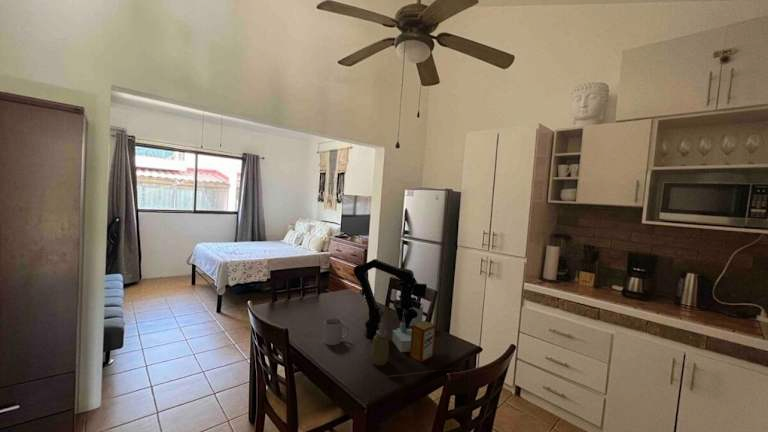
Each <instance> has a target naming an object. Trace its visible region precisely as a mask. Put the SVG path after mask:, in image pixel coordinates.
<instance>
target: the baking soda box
mask: <svg viewBox="0 0 768 432" xmlns="http://www.w3.org/2000/svg"><path fill="white" fill-rule="evenodd" d="M436 327H437V325H436V324H434V323H433V322H429V321H427V320H422V322H419V323H416V324H414V325H412V327H411V329H412V335H411V348H410V351H409V357H410V358H412V359H414V360H416V361H418V362H419V363H422V362H425V361H427V360H428V359H430V358H432V357H434V351H435V349H434V348H435V340H436V339H435V338H436Z"/></svg>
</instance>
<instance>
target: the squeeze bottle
mask: <svg viewBox="0 0 768 432" xmlns="http://www.w3.org/2000/svg"><path fill="white" fill-rule="evenodd" d="M387 333H388V332H387V331H386V330H385V325H384V323H383V322H380V325H379V330H377V331H376V335H375V336H374V338H373V339H372V346H371V351H370V358H371V362H372V364H373V365H375V366H378V367H379V366H385V365H386V364H387V362H388V360H389V356H390V353H389V351H390V350H389V349H390V348H389V347H390V346H389V344H390V343H389V336H388V334H387Z"/></svg>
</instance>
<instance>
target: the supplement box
mask: <svg viewBox="0 0 768 432" xmlns="http://www.w3.org/2000/svg"><path fill="white" fill-rule="evenodd" d="M420 303H421V304H422V305H421V307H420V309H417V308H415V307H413V308H410V309H414V310H415V311H416V312H417V313H418V315H417V317H416V318H413V319H412V321H411V323H410V325H409V327H411V328H412V325H414V324H416V323H419V322H422V321H423V318H424V317H423V315H424V303H422V302H420Z"/></svg>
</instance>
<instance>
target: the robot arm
mask: <svg viewBox="0 0 768 432" xmlns="http://www.w3.org/2000/svg"><path fill="white" fill-rule="evenodd" d="M372 269H376V270H379V271H380V272H384V273H387V274H389V275H392V276H394V277H396V278H397V279H398V280H399V282H398V283H397V286H399V287H400V295H398V298H399V299H394V300H393V304H392V306H393V308H394V310H395V313H396V316H397V318H398V321H399V322H401V321H402V319H403V322H405V327H406V329H409V327H410V326H409V325H410V323H411V321H412V319H413V318H416V317H417V315H418V313H417V312H416V311H415V310H414V309H410V308H413V307H415V308H417V309H420V307H421V305H422V304H423V303H422V302H420V301H419V300H417V297H418V298H422V299H423V298H425V299H426V298H427V295H428V289H427V288H428V287H427V283H419V282H418V281H417V279H416V278H415V275H414V274H415V273H414V272H413V270H411V269H408V268H399V267H396V266H394V265H391V264H388V263H386V262H383V261H381V260H379V259H377V258H374V259H372V260H370V261H368V262H366V263H360V264H357V265H356V266H354V268H353V274H354V276H355V277H356V280H357V281H358V282H359V284H360V286H361V289H362V292H363V295H364V298H365V301H366V303H367V304H366V305H367V306H368V319H367V320H366V322H365V323H364V325H365V333H364V336H365V338H366V339H367V340H370V339H372V340H373V339H374V336H375V335H376V331H377V330H379V328H380V325H379V324H381V323H382V320H383V318H384V314H385V313H384V312H383V308H382V306H379V305H378V303H377V302H376V301H377V300H376V299H375V294H374V292H373V289H372V286H371V284H370V281H369V271H370V270H372ZM412 295H413V296H412ZM421 303H422V304H421Z"/></svg>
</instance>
